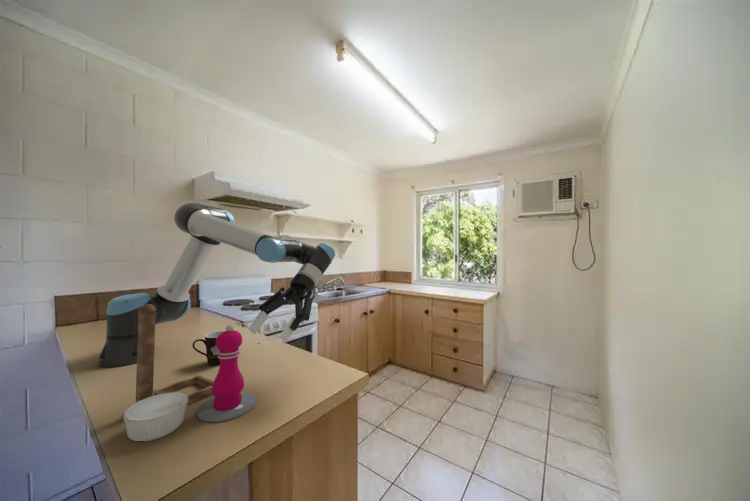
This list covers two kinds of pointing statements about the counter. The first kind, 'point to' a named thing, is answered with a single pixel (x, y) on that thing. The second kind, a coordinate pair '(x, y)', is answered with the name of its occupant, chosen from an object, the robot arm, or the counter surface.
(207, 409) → the slate coaster
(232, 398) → the pepper mill
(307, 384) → the counter surface
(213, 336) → the coffee mug
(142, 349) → the wooden stand
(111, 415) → the counter surface
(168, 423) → the ramekin
